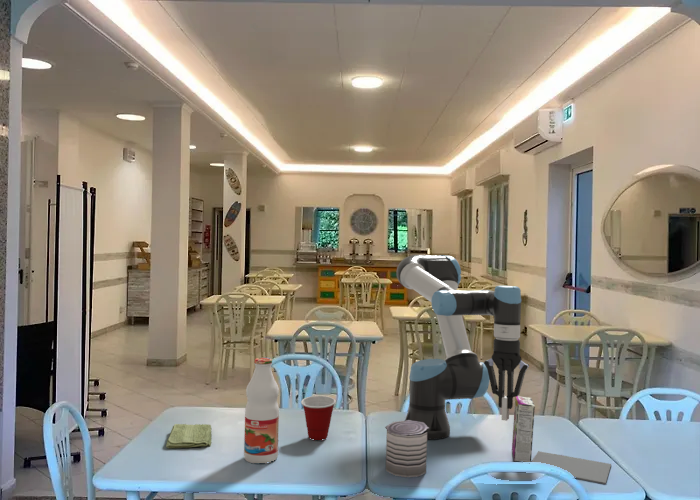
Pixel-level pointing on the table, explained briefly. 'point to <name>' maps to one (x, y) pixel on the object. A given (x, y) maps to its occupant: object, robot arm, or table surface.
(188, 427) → the washcloth
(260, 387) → the fruit juice
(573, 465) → the mat
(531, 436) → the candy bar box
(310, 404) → the plastic cup
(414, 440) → the can
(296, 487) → the table surface
